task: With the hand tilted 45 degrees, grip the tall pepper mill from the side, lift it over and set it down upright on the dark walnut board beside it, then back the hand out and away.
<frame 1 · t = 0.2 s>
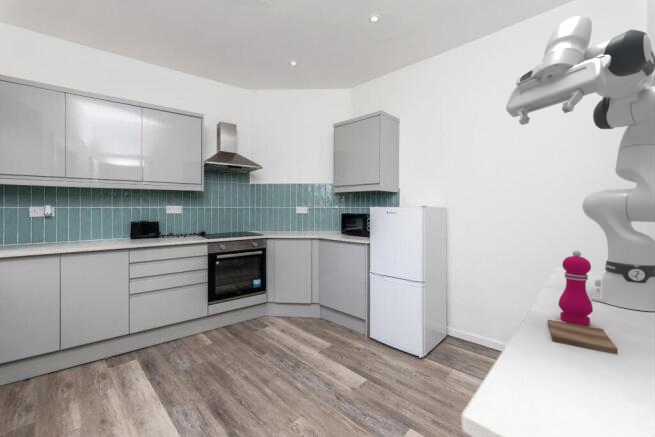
hand: (543, 117, 69), 54 cm above the countertop, tool tilted 30°, fingers open, 8 cm apart
walnut board: (578, 337, 70), on the countertop
pepper mill: (574, 322, 80), on the countertop
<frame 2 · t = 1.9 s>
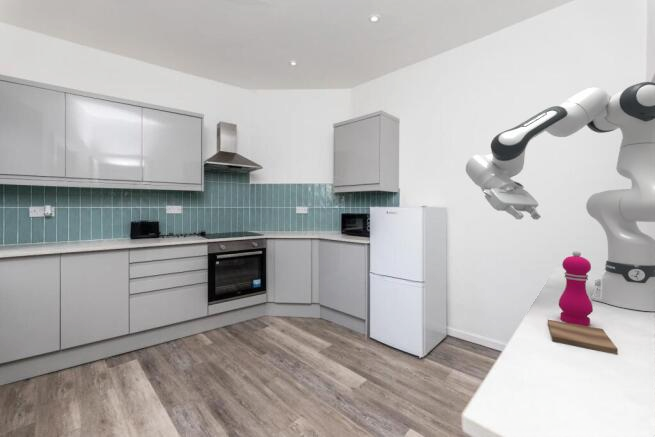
hand: (529, 218, 91), 29 cm above the countertop, tool tilted 45°, fingers open, 8 cm apart
nothing on the countertop moved.
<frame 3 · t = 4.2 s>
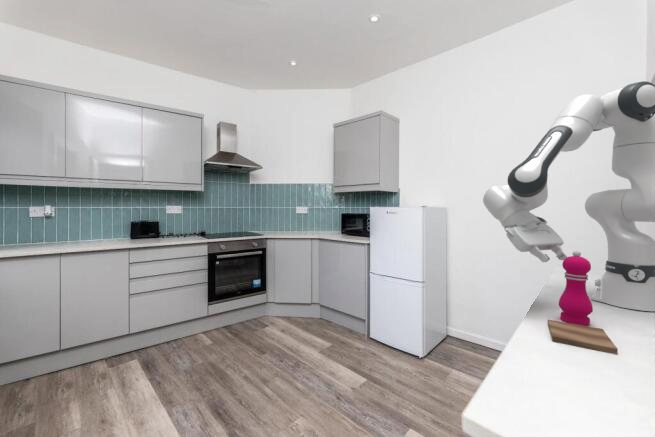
hand: (555, 260, 84), 17 cm above the countertop, tool tilted 45°, fingers open, 8 cm apart
nothing on the countertop moved.
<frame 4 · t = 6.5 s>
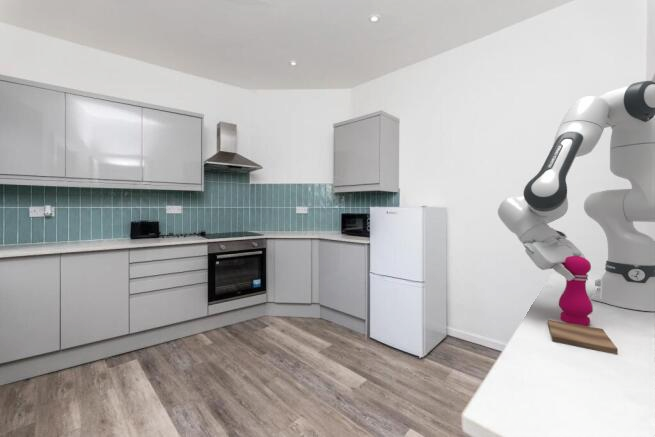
hand: (578, 278, 79), 12 cm above the countertop, tool tilted 45°, fingers closed on pepper mill, 5 cm apart
pepper mill: (574, 322, 80), on the countertop, touching gripper
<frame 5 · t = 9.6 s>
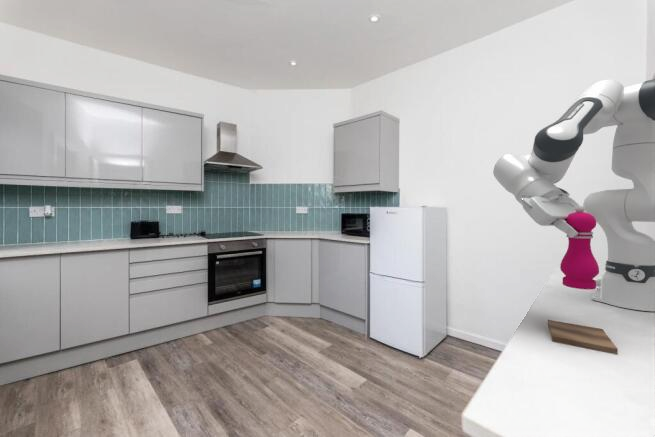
hand: (582, 235, 70), 25 cm above the countertop, tool tilted 45°, fingers closed on pepper mill, 5 cm apart
pepper mill: (578, 287, 71), point 12 cm above the countertop, touching gripper
when the fingers open (15 cm above the countertop, at t = 13.0 s): pepper mill moves 1 cm, resting on walnut board.
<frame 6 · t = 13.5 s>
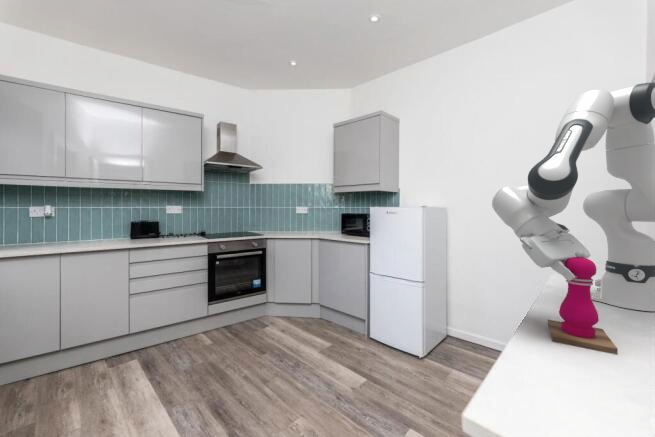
hand: (583, 277, 69), 15 cm above the countertop, tool tilted 45°, fingers open, 8 cm apart
pepper mill: (577, 333, 70), point 1 cm above the countertop, touching walnut board
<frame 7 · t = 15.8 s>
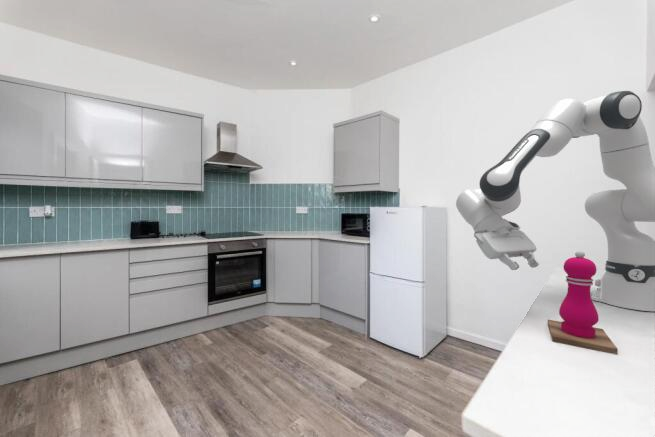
hand: (526, 267, 80), 15 cm above the countertop, tool tilted 45°, fingers open, 8 cm apart
nothing on the countertop moved.
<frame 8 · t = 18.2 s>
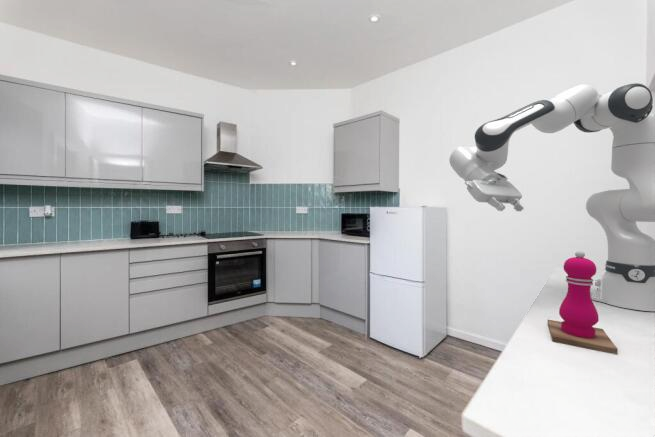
hand: (511, 209, 89), 31 cm above the countertop, tool tilted 45°, fingers open, 8 cm apart
nothing on the countertop moved.
at the end: pepper mill inside the target area on the walnut board (0.4 cm from its centre), point 1.0 cm above the walnut board's base; pepper mill tilted 0°; the gripper is holding nothing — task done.
